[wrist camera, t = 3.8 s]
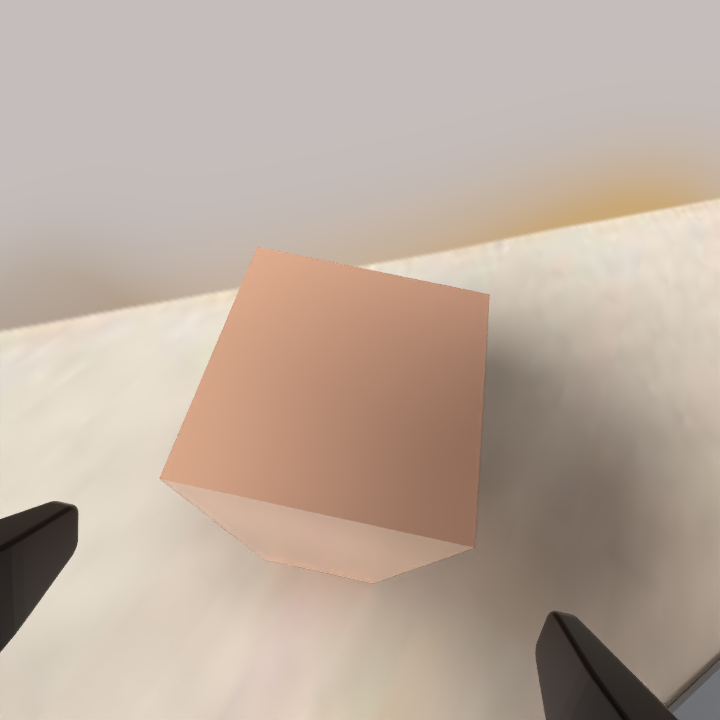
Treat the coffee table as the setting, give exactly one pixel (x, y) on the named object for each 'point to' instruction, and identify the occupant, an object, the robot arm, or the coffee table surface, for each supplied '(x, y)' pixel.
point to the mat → (700, 698)
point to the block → (340, 419)
